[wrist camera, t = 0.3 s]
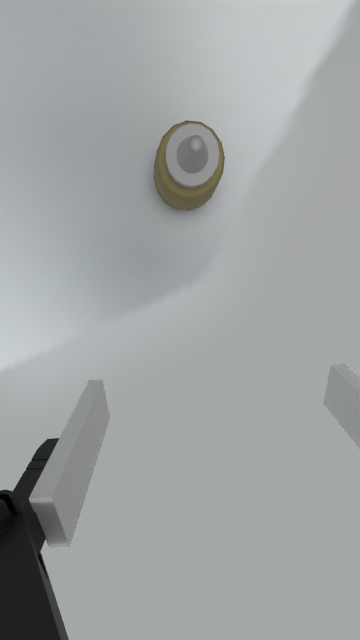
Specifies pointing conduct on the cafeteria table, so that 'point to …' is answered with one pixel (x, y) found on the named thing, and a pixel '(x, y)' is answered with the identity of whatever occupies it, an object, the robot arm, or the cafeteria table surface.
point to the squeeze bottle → (188, 165)
